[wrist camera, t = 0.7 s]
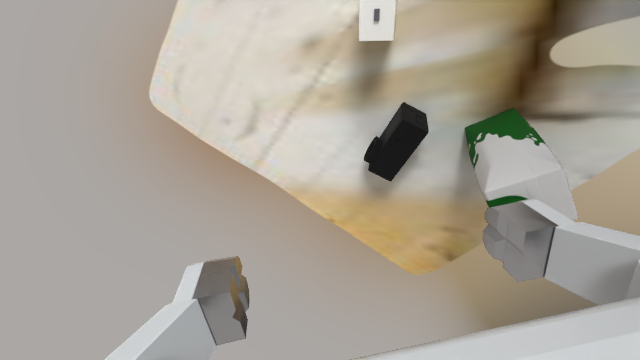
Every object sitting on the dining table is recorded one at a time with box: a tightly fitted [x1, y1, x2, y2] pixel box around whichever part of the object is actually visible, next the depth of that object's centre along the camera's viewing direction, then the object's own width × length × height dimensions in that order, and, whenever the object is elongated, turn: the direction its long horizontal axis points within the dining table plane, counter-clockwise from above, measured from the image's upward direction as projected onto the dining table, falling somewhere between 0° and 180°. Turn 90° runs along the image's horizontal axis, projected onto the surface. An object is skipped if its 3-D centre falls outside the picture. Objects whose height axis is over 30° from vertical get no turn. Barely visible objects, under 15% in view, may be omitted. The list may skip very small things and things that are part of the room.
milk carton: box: [465, 108, 579, 220], centre depth 42 cm, size 9×9×20 cm
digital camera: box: [364, 102, 428, 181], centre depth 51 cm, size 10×5×7 cm, turn 156°
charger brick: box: [359, 0, 397, 41], centre depth 39 cm, size 6×4×10 cm
